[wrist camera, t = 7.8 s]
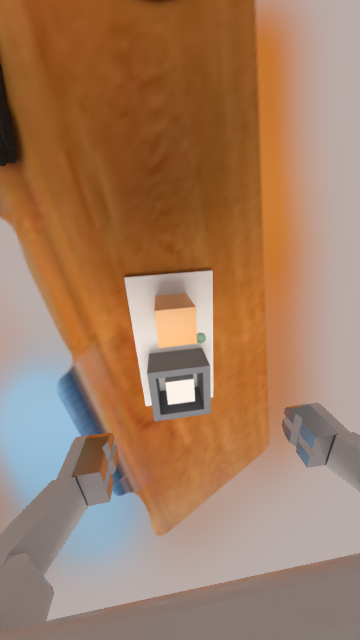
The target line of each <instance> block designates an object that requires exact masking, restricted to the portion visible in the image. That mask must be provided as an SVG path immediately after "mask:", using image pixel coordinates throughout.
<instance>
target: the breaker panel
mask: <svg viewBox="0 0 360 640" xmlns="http://www.w3.org/2000/svg"><path fill="white" fill-rule="evenodd" d="M124 280H125V286H126V292H127V298H128V304H129V310H130V315H131V321H132V327H133V333H134V339H135V345H136V351H137V357H138V363H139V369H140V375H141V381H142V387H143V393H144V398H145V404H146V406H151V405H152V408H153V415H154V421H161V420H168V419H175V418H182V417H189V416H196V415H203V414H210V413H211V397H213V271H212V270H205V271H193V272H181V273H169V274H156V275H144V276H132V277H125V278H124ZM183 293H187V295H188V296H189V298H190V299H191V301H192V302H193V304H194V305H195V306H196V326H197V344H189V345H180V346H172V347H163V348H159V345H158V337H157V329H156V320H155V312H154V308H155V296H161V295H172V294H183ZM190 374H193V377H194V390H195V401H193V402H186V403H179V404H171V405H168V401H167V392H166V383H165V378H166V377H174V376H182V375H190Z"/></svg>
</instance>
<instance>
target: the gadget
mask: <svg viewBox="0 0 360 640" xmlns="http://www.w3.org/2000/svg"><path fill="white" fill-rule="evenodd" d="M15 148H16V146H15V137H14V133H13V129H12V123H11V116H10V113H9V110H8V108H7V106H6V103H5V96H4V89H3V83H2V76H1V69H0V166H4V165H6V163H15V162H16V161H17V156H16V149H15Z"/></svg>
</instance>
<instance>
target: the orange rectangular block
mask: <svg viewBox="0 0 360 640" xmlns="http://www.w3.org/2000/svg"><path fill="white" fill-rule="evenodd" d="M154 312H155V320H156V329H157V337H158V345H159V348H163V347H172V346H180V345H189V344H197V326H196V306H195V305H194V304H193V302H192V301H191V299H190V298H189V296H188V295H187V293H183V294H172V295H161V296H155V308H154Z"/></svg>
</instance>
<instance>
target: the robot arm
mask: <svg viewBox="0 0 360 640" xmlns="http://www.w3.org/2000/svg"><path fill="white" fill-rule="evenodd" d="M284 414H285V415H286V417H285V418H284V419H283V424H282V427H283V431H284V433H285V436H286V437H287V439H288V440H289V442H290V443H292V444H293V445H295V446H296V452H297V454H298V455H299V457H300V458H301V459H302V461H303V462H304V464H305V465H306V467H314V466H321V465H326V466H327V467H328V468H329V469H331V470H332V471H333V472H334V473H336V474H337V475H338V476H340V477H341V478H342V479H343V480H345V481H346V482H347V483H349V484H350V485H351V486H353V487H354V488H355V489H357V490H358V491H359V492H360V435H358V434H356V433H354V432H352V433H350V432H349V431H348V430H347V429H346V428H345V427H344V426H343V425H342V424H341V423H340V422H339V421H338V420H337V419H336V418H334V417H333V416H332V415H331V414H330V413H329V412H328V411H327V410H326V409H325V408H324V407H323V406H322V405H321V404H319V403H311V404H303V405H297V406H291V407H287V408H285V411H284ZM113 442H114V435H113V433H106V434H97V435H88V436H81V437H76V439H75V440H74V441H73V443H72V445H71V447H70V450H69V452H68V454H67V456H66V459H65V461H64V463H63V466H62V468H61V470H60V472H59V475H58V477H57V479H56V480H53V481H51V482H50V483H49V484H48V485H47V486H46V487H45V488H44V489H43V490H42V491H41V493H40V494H39V495H38V496H37V497H36V498H35V499H34V500H33V501H32V502H31V503H30V504H29V505H28V506H27V507H26V508H25V509H24V510H23V511H22V512H21V513H20V514H19V515H18V516H17V517H16V518H15V519H14V520H13V521H12V522H11V523H10V524H9V525H8V527H6V528H5V530H4V531H3V532H2V533H1V534H0V640H360V553H358V554H353V555H349V556H344V557H339V558H335V559H330V560H325V561H321V562H316V563H311V564H307V565H302V566H298V567H293V568H289V569H284V570H280V571H275V572H270V573H265V574H261V575H256V576H252V577H247V578H242V579H238V580H233V581H229V582H224V583H219V584H215V585H210V586H206V587H201V588H196V589H192V590H187V591H183V592H178V593H173V594H169V595H164V596H160V597H155V598H151V599H146V600H141V601H137V602H132V603H127V604H123V605H118V606H113V607H109V608H104V609H99V610H95V611H91V612H86V613H81V614H77V615H72V616H67V617H62V618H58V619H53V620H49V621H46V619H47V615H48V612H49V609H50V605H51V602H52V598H53V595H54V591H53V588H52V586H51V585H50V584H49V582H48V581H47V580H46V578H45V577H44V574H45V573H46V571H47V570H48V568H49V567H50V565H51V564H52V562H53V561H54V559H55V558H56V556H57V555H58V553H59V551H60V550H61V548H62V547H63V545H64V544H65V542H66V541H67V539H68V537H69V536H70V534H71V533H72V531H73V530H74V528H75V527H76V525H77V524H78V522H79V520H80V519H81V517H82V516H83V514H84V513H85V511H86V510H87V508H88V507H87V506H90V505H95V504H100V503H105V502H110V498H111V493H112V488H113V478H112V474H113V473H114V472H115V470H116V466H117V458H118V452H117V446H116V445H115V444H114V443H113Z"/></svg>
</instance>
